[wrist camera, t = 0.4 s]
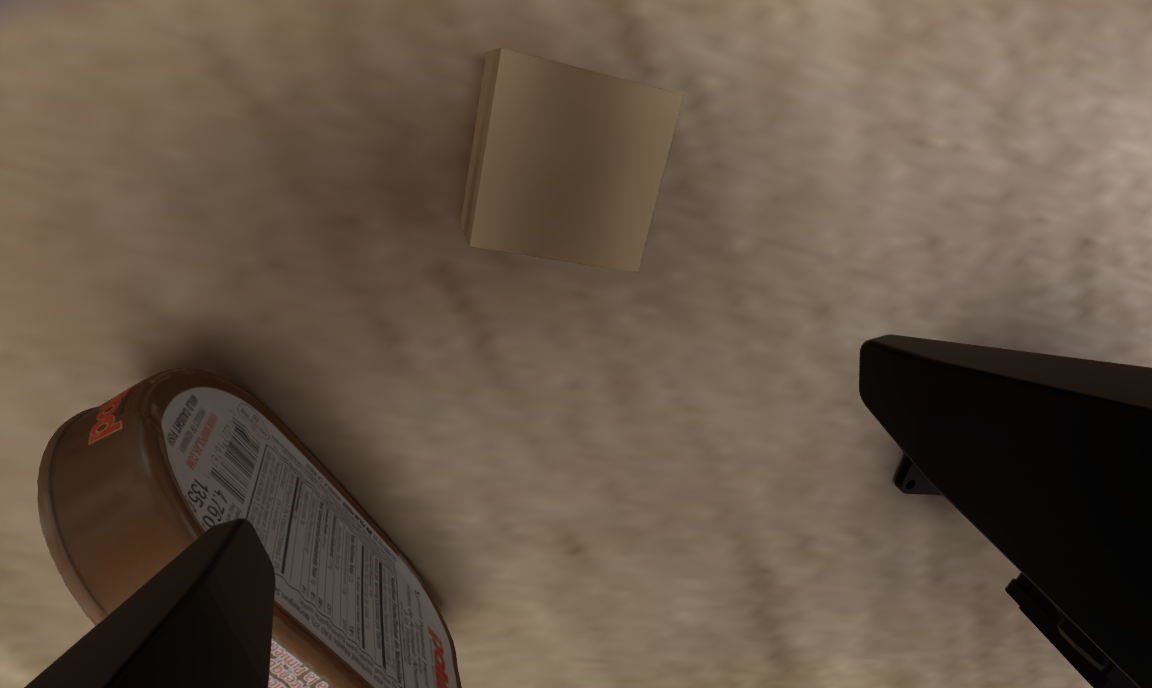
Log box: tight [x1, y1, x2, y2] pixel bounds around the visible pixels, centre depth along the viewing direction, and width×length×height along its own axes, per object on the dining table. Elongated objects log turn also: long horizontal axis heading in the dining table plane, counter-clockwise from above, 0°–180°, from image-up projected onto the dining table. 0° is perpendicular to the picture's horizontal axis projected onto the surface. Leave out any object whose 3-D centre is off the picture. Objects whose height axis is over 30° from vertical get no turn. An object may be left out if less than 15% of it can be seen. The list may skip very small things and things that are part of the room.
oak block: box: [460, 48, 684, 273], centre depth 18 cm, size 5×5×3 cm
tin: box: [37, 368, 462, 688], centre depth 18 cm, size 15×3×8 cm, turn 27°
